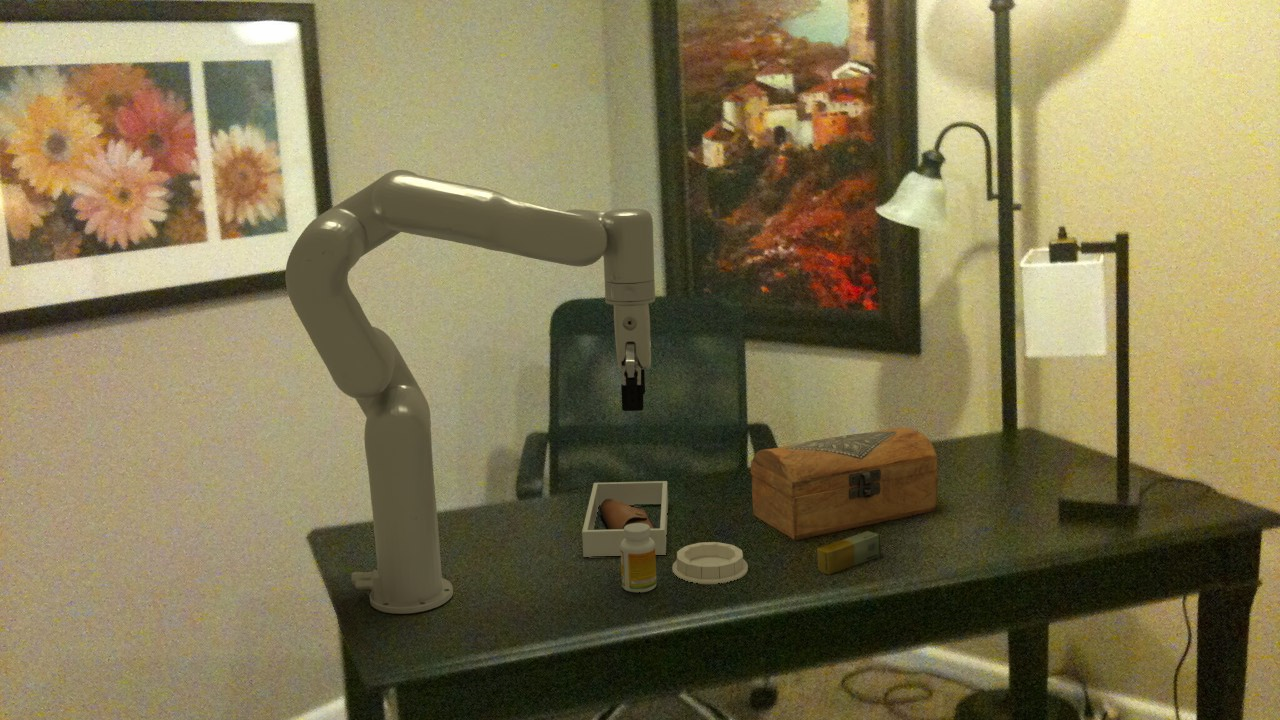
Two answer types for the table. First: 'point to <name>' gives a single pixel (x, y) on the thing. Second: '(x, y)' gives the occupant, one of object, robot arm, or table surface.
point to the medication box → (848, 552)
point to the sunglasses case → (622, 514)
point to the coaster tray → (710, 563)
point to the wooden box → (844, 482)
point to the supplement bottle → (638, 559)
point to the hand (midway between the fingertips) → (633, 402)
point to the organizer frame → (628, 494)
